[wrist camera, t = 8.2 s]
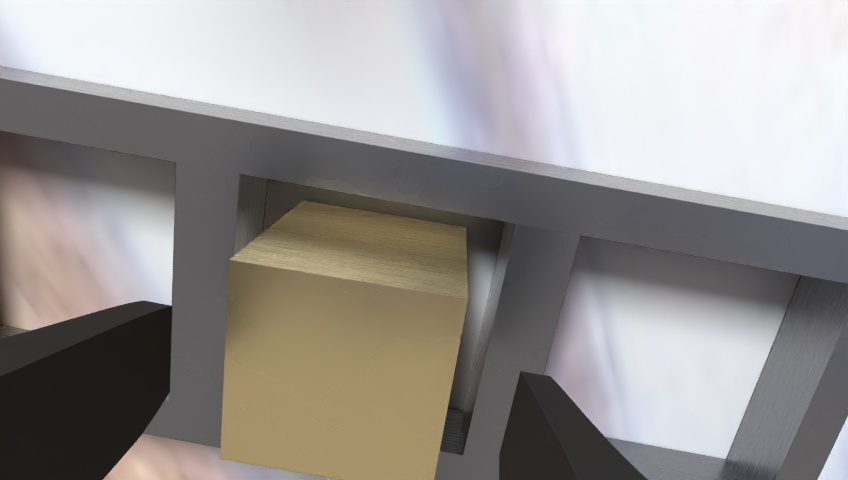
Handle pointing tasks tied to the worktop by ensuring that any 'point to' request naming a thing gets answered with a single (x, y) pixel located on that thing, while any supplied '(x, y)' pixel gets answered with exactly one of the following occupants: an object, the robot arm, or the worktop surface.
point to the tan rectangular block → (343, 343)
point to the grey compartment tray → (513, 275)
